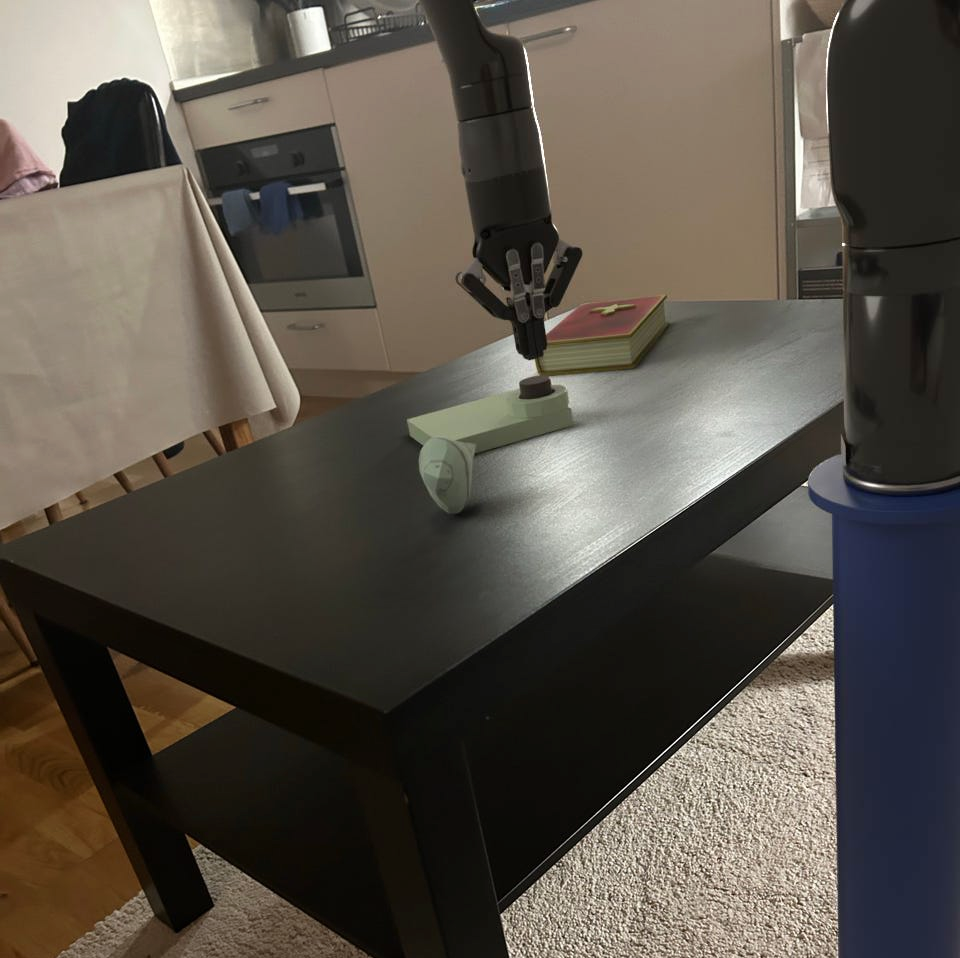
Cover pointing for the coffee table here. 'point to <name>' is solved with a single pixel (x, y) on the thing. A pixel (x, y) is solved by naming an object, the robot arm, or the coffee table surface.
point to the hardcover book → (604, 336)
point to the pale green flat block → (496, 419)
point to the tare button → (535, 387)
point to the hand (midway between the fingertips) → (533, 357)
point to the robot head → (447, 471)
